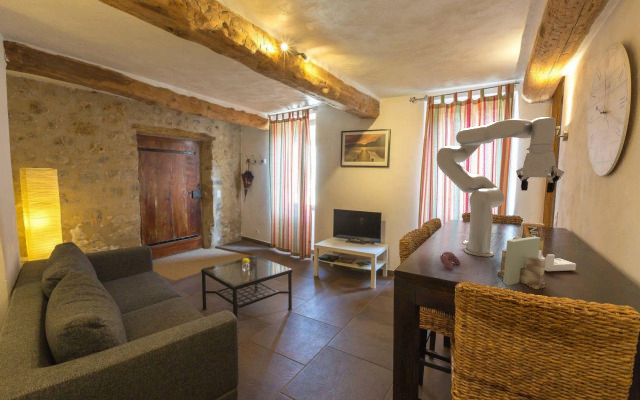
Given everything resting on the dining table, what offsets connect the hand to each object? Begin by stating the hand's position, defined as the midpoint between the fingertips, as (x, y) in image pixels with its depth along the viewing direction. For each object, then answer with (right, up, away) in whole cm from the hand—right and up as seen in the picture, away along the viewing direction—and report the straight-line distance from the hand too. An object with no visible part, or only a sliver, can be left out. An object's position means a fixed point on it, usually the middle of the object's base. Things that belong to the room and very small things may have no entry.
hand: (536, 191), depth 118 cm
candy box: (+13, -30, +22) cm, 40 cm away
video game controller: (-34, -32, +4) cm, 47 cm away
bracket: (+9, -33, +2) cm, 34 cm away
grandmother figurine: (-5, -32, +6) cm, 33 cm away
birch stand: (-15, -34, -11) cm, 38 cm away
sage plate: (-14, -34, -11) cm, 38 cm away
